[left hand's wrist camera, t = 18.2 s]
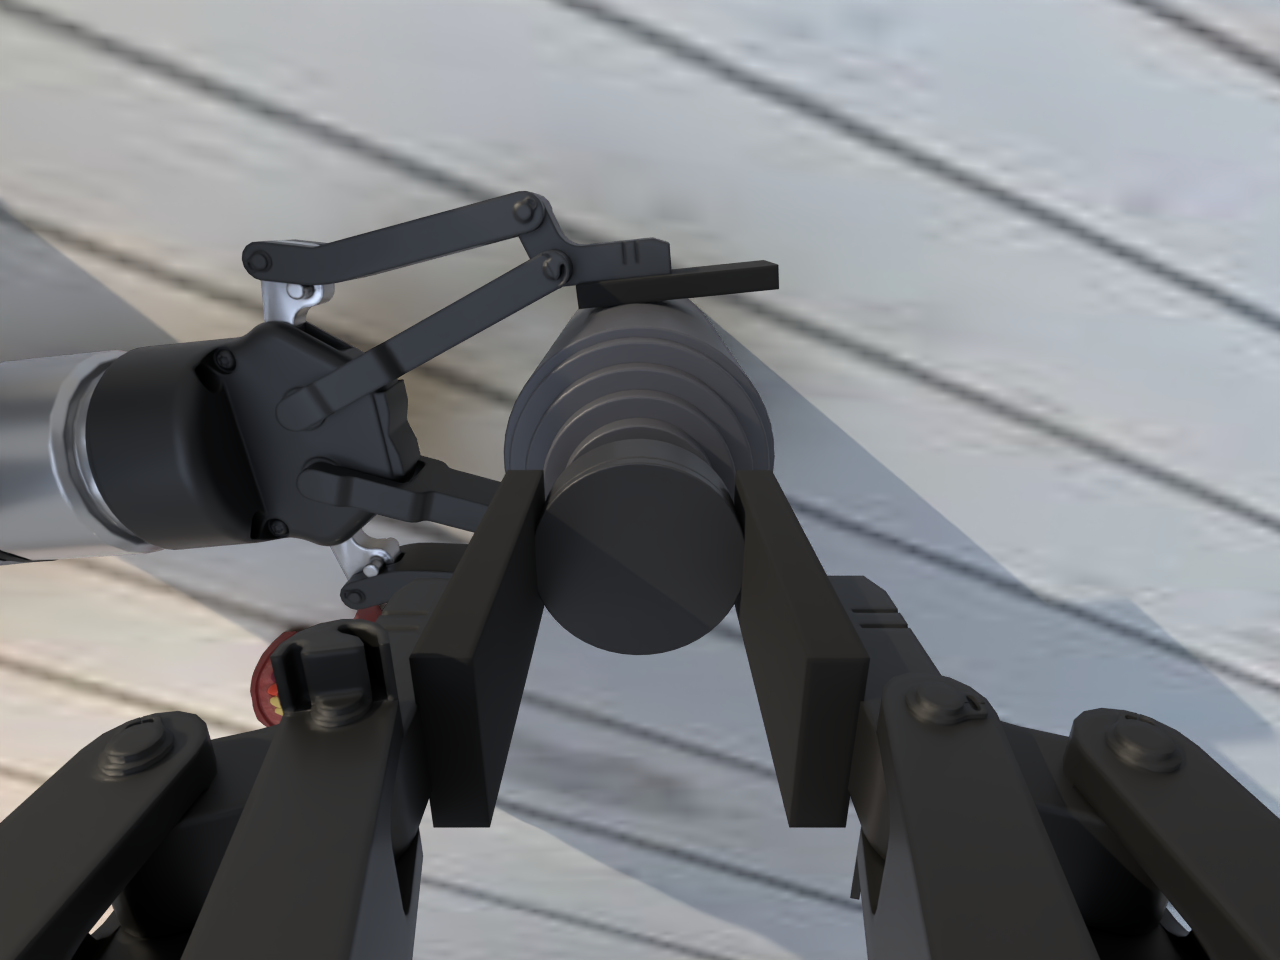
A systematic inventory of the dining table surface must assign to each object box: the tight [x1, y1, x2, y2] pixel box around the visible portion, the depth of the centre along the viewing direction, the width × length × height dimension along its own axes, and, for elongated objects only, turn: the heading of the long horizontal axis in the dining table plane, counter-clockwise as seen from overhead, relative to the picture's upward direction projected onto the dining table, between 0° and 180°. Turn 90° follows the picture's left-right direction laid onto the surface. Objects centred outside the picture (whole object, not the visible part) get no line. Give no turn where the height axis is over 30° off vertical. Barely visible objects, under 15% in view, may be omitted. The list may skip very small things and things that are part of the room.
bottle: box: [504, 298, 774, 503], centre depth 22 cm, size 7×7×18 cm
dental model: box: [250, 605, 382, 727], centre depth 34 cm, size 6×4×8 cm
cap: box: [534, 439, 745, 655], centre depth 14 cm, size 4×4×2 cm
